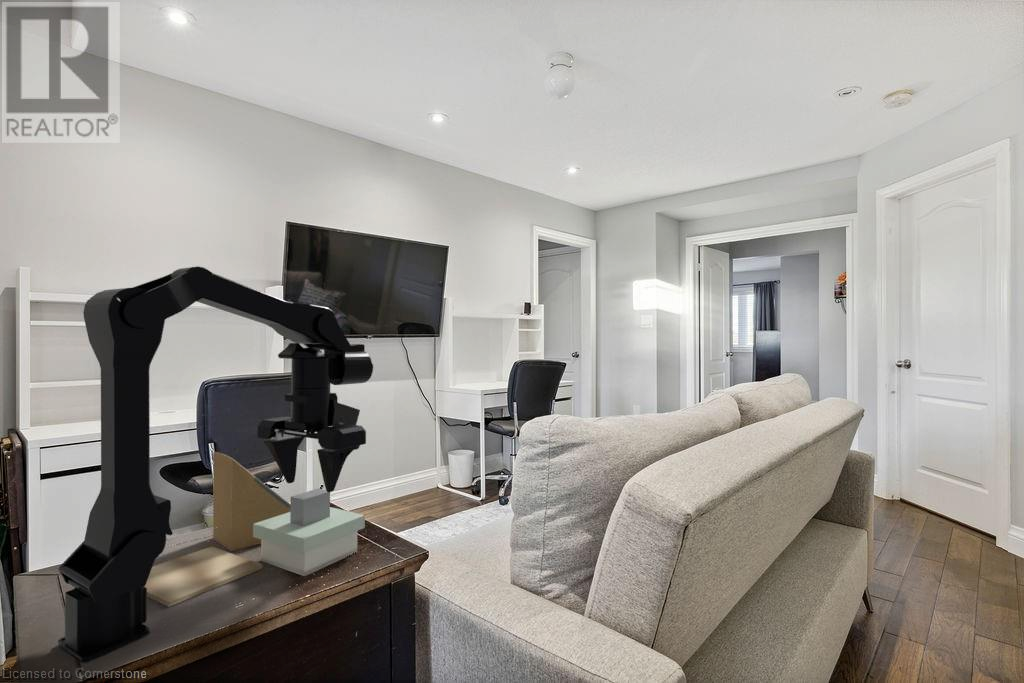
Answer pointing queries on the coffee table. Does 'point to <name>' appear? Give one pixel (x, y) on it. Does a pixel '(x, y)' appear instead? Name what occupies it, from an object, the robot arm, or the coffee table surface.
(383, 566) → the coffee table surface
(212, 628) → the coffee table surface
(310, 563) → the storage box
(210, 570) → the cork mat
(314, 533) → the lid
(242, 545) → the wooden ramp
